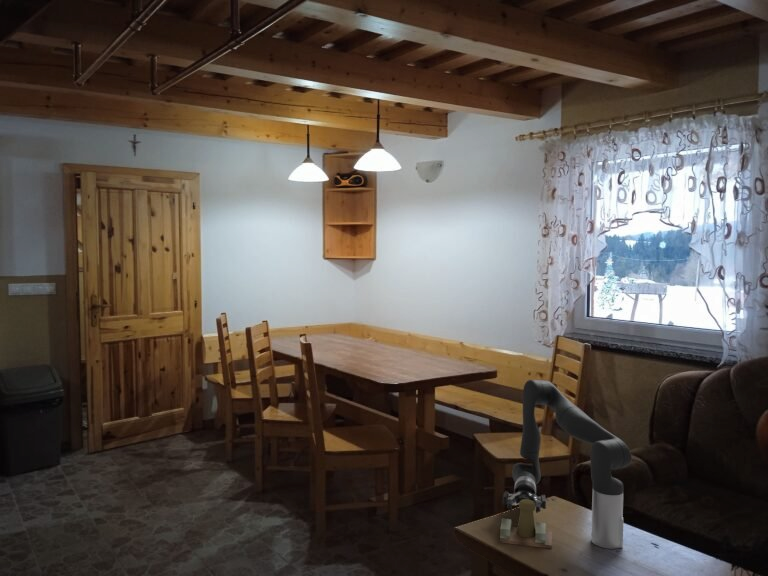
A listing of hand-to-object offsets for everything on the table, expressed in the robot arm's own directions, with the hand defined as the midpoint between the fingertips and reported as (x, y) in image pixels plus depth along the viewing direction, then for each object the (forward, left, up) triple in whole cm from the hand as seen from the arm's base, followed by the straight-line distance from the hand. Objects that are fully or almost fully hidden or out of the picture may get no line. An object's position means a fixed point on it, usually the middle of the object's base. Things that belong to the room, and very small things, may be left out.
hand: (523, 508), depth 204 cm
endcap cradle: (0, +3, -8) cm, 9 cm away
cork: (-1, +2, -8) cm, 8 cm away
